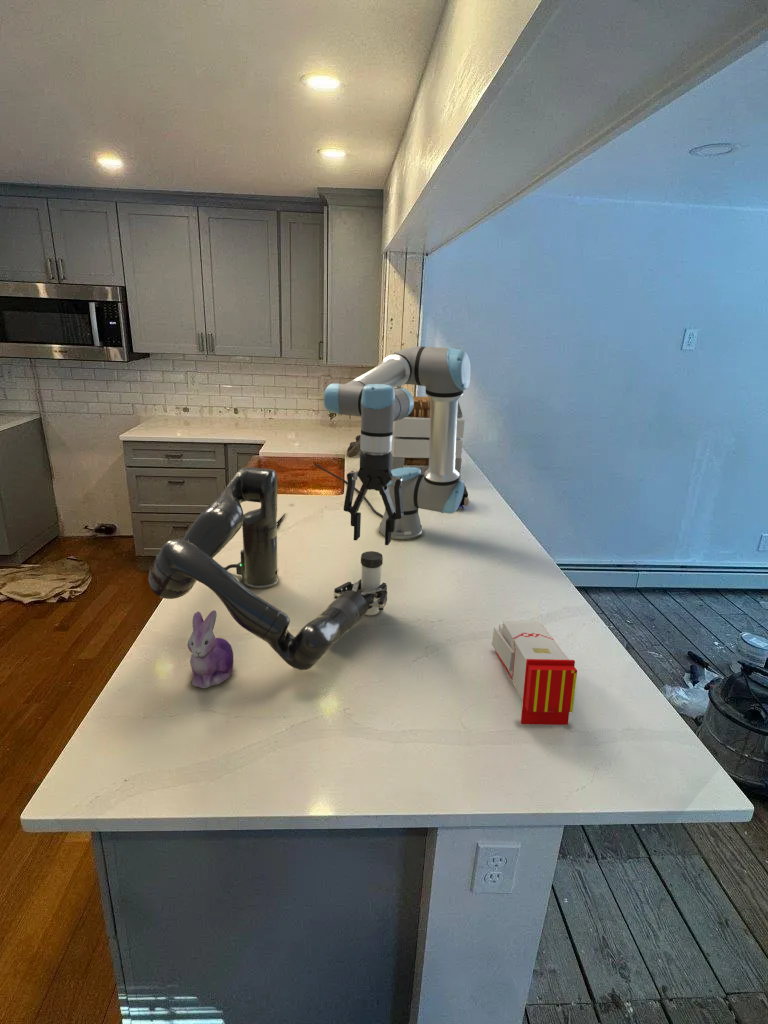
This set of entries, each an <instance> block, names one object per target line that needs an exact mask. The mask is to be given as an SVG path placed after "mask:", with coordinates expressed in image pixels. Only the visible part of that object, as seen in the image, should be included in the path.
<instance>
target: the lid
mask: <svg viewBox="0 0 768 1024" xmlns="http://www.w3.org/2000/svg"><path fill="white" fill-rule="evenodd" d="M383 560H384V557H383V554H382V553H381V552H378V551H373V550H371V551H370V550H369V551H364V552H362V553H361V556H360V564H361V566H362V565H363V566H365V567H368V568H377V567H380V566H381V567H382V566H383V563H384V561H383Z"/></svg>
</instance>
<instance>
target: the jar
mask: <svg viewBox="0 0 768 1024" xmlns="http://www.w3.org/2000/svg"><path fill="white" fill-rule="evenodd" d="M360 579H361V591H365V592H366V591H369V590H371V589H373V590H375V589H378V587H379V586H380V585H381V584H382V581H381V580H382V565H381V566H380V567H377V568H368V567H365V566H363V565H362V564H361V575H360ZM376 596H377V594H376ZM379 612H380V610H379V607H372V608H370V609H368V610H367V612H366V613H365V615H366V616H374V615H375V616H376V615H377V614H379ZM365 615H364V616H365Z"/></svg>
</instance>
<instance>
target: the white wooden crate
mask: <svg viewBox="0 0 768 1024" xmlns="http://www.w3.org/2000/svg"><path fill="white" fill-rule="evenodd" d="M396 388H403V387H402V386H398V387H396ZM412 397H413V400H414V407H413V410H412V411H411V413H410V414H409V415H408V416H406V417H405V418H403V419H401V420H397V421H394V422H393V437H392V450H391V451H390V453H391V454H392V457H391V470H393V469H397V468H403V467H405V466H406V467H417V466H418V467H429V439H430V398H429V397H428V396H415V395H414V396H413V395H412ZM464 429H465V419H464V418H463V411H462V408H461V405H460V402H459V401H458V412H457V434H456V456H455V469H456V470H457V471H458V472H459V480H461V472H462V461H463V460H462V453H463V442H464V441H463V440H462V439H463V438H464V431H465V430H464Z"/></svg>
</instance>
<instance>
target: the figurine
mask: <svg viewBox="0 0 768 1024" xmlns="http://www.w3.org/2000/svg"><path fill="white" fill-rule="evenodd" d="M217 617H218V613H217V610H216V609H213V610H212V611H210V612H209V614H208V615H207V616H206V618H205V619H204V617H203V615H202V613H201V612H200V611H196V612H194V614H193V616H192V632H191V634H190V636H189V639H188V640H187V649H188V650H189V652H190V653H191V656H190V659H189V664H190V667H191V671H192V675H193V677H192V683H191V684H192V686H194V687H198V688H201V689H207V688H210V687H213V686H217V685H220V684H222V683H223V682H225V681H226V680H228V679H229V678H230V677H231V676H232V675H233V671H234V650H233V648H232V645H231V643H230V642H229V641H228V640H227V639H225V638H223V637H216V635H215V632H214V628H215V624H216V621H217Z"/></svg>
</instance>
